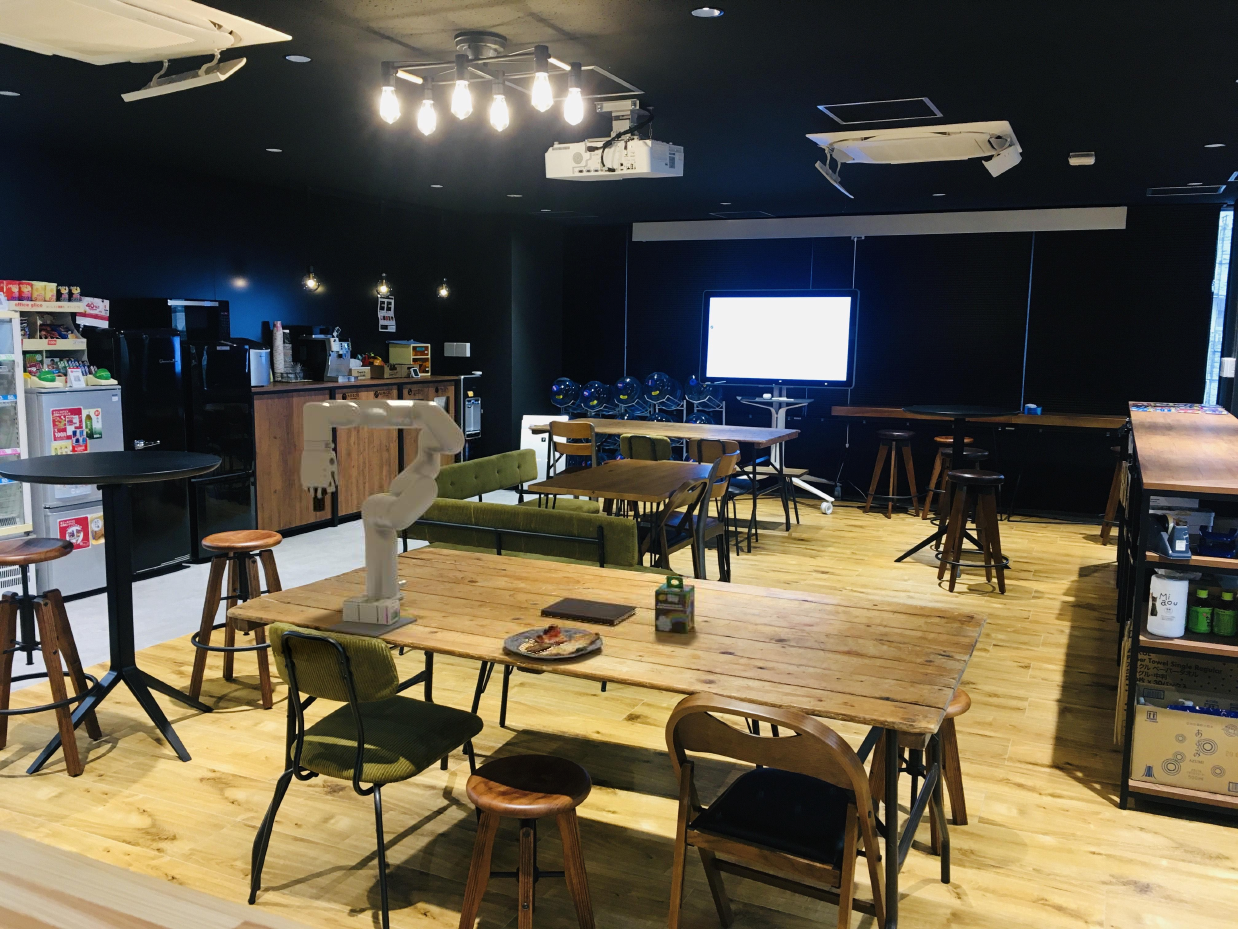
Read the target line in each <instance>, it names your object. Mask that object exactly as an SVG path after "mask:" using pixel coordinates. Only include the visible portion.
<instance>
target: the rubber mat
mask: <svg viewBox="0 0 1238 929" xmlns="http://www.w3.org/2000/svg"><path fill="white" fill-rule="evenodd" d="M415 622H418V618H415V617H410V616H409V617H407V616H402V615H400V619H399V620H397V621H396V622H394V623H392V624H390V625H385V624H374V623H362V622H351V621H343V622H342V621H341V622H339V623H336V624H334V625H331V626H329V627H327V630H330V631H335V632H341V633H347V634H355V635H362V636H366V637H373V638H379V637H380V636H382V635H385V634H388V633H391V632H392V631H395V630H398V629H400V628H403V627H405V626H407V625H409V624H412V623H415Z"/></svg>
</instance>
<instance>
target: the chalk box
mask: <svg viewBox="0 0 1238 929" xmlns="http://www.w3.org/2000/svg"><path fill="white" fill-rule="evenodd" d="M665 581H666V582H664V583H663V584H661V585H659V586H658V588H657V589H656V590H655V591H654V631H659V632H668V633H669V632H670V633H676V634H683V635H686V634H688V632H689V631H690V630H691V629H692V628H693V627H694V626H695V622H696V621H695V614H696V613H695V612H696V611H695V607H696V606H695V600H696V599H695V592H696V590H695V585H694V584H687V583H686V584H684V578H683V577H682V576H677V575H676V576H675V575H673V576H672V575H666V578H665ZM672 581H677V582H678V583H672Z"/></svg>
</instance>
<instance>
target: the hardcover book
mask: <svg viewBox="0 0 1238 929" xmlns="http://www.w3.org/2000/svg"><path fill="white" fill-rule="evenodd" d="M637 608H638V607H637V606H635V605H634V606H633V605H628V604H627V605H626V604H625V605H624V604H621V603H619V604H617V603H610V602H603V601H597V600H596V601H595V600H589V599H583V598H582V599H580V598H575V597H574V598H573V597H567V596H566V597H565V598H563V599H561V600H559V601H556V602H553V603H552V604H550V605H547V606H545V607H544V608H542V609H540V616H541V615H545V616H544V617H547V616H552V617H551V618H554V617H560V618H559V619H561V618H566V619H565V620H568V619H572V620H571V621H575V620H581V621H580V622H582V621H587V622H586V623H589V622H594V623H593V624H596V623H602V624H601V625H603V624H609V625H608V626H610V625H614V624H615V623H617V622H619V621H620V620H622V619H624V618H625V617H627V616H629V615H631V614H632V613H633V612H635V613H636V609H637ZM632 615H633V614H632ZM632 615H631V616H632ZM629 617H630V616H629ZM627 618H628V617H627ZM624 620H625V619H624ZM622 621H623V620H622ZM619 623H620V622H619ZM617 624H618V623H617ZM615 625H616V624H615ZM615 625H614V626H615Z"/></svg>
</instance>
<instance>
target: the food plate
mask: <svg viewBox="0 0 1238 929" xmlns="http://www.w3.org/2000/svg"><path fill="white" fill-rule="evenodd" d="M600 636H601V634H600V632H591V631H588V630H586V629H583V628H582V629H580V628H575V627H564V626H559V625H558V624H556V625H549V626H547V627H541V628H534V629H533V628H532V629H527V630H526V631H525V630H524V631H521V632H519V633H518V632H517V633H516V634H512V635H510V636H508V637H506V638H505V639H504V640H503V645H505V648H506V649H508V650H510V651H512V652H515V653H517V654H521V655H525V656H529V657H532V658H539V659H544V660H549V661H553V660H554V659H558V658H569V657H575V656H579V655H582V654H586V653H589V652H590V651H593V650H596V649H599V648H600V647H602V646H603V644H604V643H603V638H602V637H600ZM526 639H528V641H526ZM530 639H532V640H535V643H537V644H536V645H534V644H533V646H532V645H528V647H527V646H526V647H525V648H524V651H523V650H522V649H521V650H522V651H521V650H520V649H519V647H520V646H521V645H522V644H524V643H526V644H527V642H528V643H529V641H532V640H530ZM560 644H563V645H560ZM554 645H555V646H554ZM552 646H553V647H554V648H553V649H551V650H548V651H544V650H547V649H549V648H551V647H552ZM525 650H527V652H531V653H536V652H540V651H544V652H540V653H536V654H537V655H536V654H529V653H527V652H526V651H525Z"/></svg>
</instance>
